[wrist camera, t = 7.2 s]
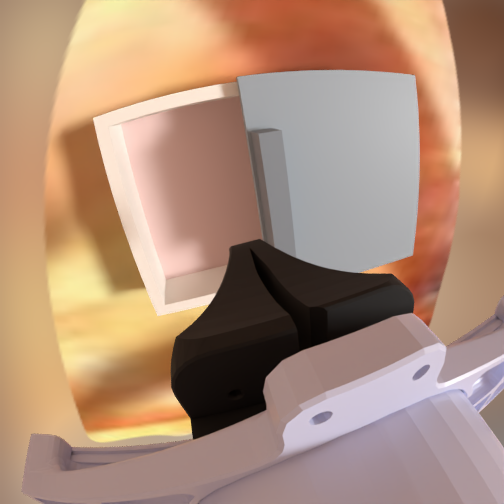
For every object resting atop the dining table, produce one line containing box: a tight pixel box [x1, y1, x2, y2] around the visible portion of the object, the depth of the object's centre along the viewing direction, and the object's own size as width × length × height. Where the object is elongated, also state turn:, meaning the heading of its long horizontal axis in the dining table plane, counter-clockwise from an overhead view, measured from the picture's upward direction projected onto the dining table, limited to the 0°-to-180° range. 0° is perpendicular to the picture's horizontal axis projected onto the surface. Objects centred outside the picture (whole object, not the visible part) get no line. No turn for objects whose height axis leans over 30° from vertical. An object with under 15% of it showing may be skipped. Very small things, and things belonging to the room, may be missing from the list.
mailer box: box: [93, 82, 263, 316], centre depth 19 cm, size 14×12×4 cm
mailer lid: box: [236, 70, 420, 273], centre depth 17 cm, size 14×12×2 cm
